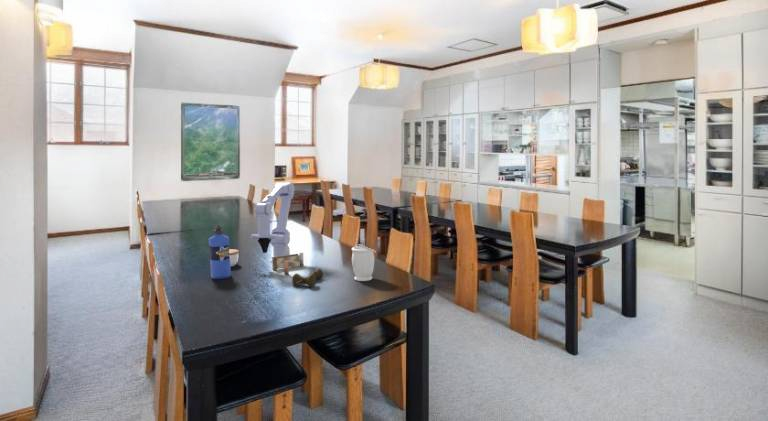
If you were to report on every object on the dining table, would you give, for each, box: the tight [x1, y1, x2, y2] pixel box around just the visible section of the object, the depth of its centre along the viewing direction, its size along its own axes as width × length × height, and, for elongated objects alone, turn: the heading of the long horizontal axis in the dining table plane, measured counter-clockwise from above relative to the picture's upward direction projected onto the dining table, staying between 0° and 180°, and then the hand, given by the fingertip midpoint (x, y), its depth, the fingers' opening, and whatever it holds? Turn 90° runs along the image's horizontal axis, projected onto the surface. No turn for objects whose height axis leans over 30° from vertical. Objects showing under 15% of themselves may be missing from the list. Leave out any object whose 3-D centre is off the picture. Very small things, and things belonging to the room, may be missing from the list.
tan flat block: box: [271, 253, 300, 271], centre depth 233 cm, size 14×2×7 cm, turn 120°
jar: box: [351, 245, 375, 282], centre depth 211 cm, size 11×10×15 cm
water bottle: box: [208, 224, 232, 280], centre depth 218 cm, size 9×9×25 cm
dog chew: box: [291, 268, 324, 288], centre depth 205 cm, size 6×10×20 cm
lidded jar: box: [229, 248, 240, 268], centre depth 240 cm, size 11×11×9 cm
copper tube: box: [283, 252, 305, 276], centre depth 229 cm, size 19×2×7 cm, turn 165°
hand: (265, 252), depth 232 cm, fingers closed
